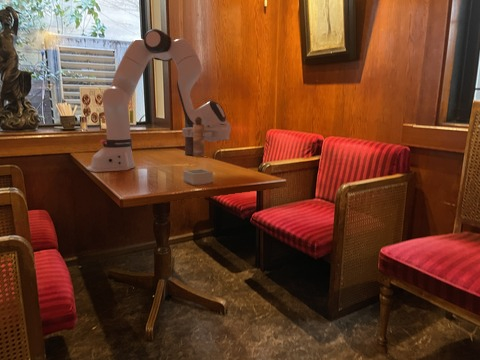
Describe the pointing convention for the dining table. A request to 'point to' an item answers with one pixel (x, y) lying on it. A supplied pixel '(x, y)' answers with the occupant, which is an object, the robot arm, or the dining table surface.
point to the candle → (188, 145)
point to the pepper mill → (198, 138)
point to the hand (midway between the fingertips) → (197, 134)
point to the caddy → (197, 176)
